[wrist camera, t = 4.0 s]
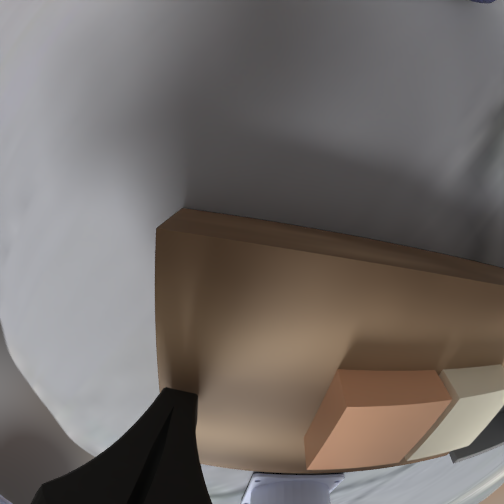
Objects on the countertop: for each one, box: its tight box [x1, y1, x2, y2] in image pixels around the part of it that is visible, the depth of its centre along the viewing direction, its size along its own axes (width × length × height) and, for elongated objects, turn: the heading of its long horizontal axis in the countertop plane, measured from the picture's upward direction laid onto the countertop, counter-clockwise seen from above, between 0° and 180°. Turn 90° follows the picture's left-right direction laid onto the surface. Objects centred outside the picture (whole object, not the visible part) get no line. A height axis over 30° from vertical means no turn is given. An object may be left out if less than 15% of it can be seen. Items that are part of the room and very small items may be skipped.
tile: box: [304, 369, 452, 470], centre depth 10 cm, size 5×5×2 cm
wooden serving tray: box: [155, 208, 504, 473], centre depth 13 cm, size 14×20×3 cm
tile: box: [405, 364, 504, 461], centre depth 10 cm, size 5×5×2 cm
